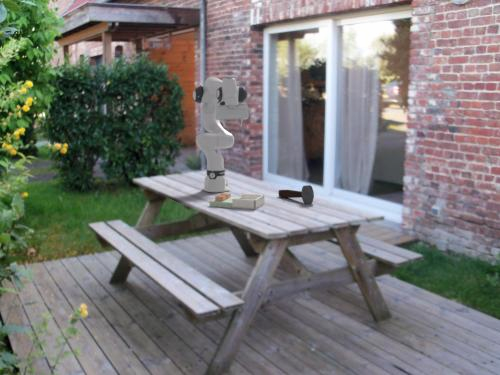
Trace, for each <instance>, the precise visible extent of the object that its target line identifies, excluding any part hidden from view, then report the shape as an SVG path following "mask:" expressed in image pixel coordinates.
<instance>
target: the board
mask: <svg viewBox="0 0 500 375" xmlns="http://www.w3.org/2000/svg"><path fill="white" fill-rule="evenodd" d="M233 198H234V199H242V196H240V197H239V196H231V197H230V198H228V199H226V200H225V201H215V198H213V199H211V200H209V207H214V208H227V209H229V208H230V209H233V208H232V199H233Z"/></svg>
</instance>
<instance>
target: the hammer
mask: <svg viewBox="0 0 500 375" xmlns="http://www.w3.org/2000/svg"><path fill="white" fill-rule="evenodd" d="M278 197H279V198H284V199H291V198H292V199H295V198H301V199H302V202H303V204H305V205H311V204H312V203H314V197H315V191H314V189H313V186H312V185H311V184H308V185H302V188H301V191H300V190H294V189H293V190H292V189H278Z"/></svg>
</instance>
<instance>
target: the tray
mask: <svg viewBox="0 0 500 375" xmlns="http://www.w3.org/2000/svg"><path fill="white" fill-rule="evenodd" d="M241 197H242V199H234V198H233V199H232V208H231V209H243V210H257V209H259V208H260V207H262V206H263V205H264V204H265V194H258V193H257V194H256V193H241Z"/></svg>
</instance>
